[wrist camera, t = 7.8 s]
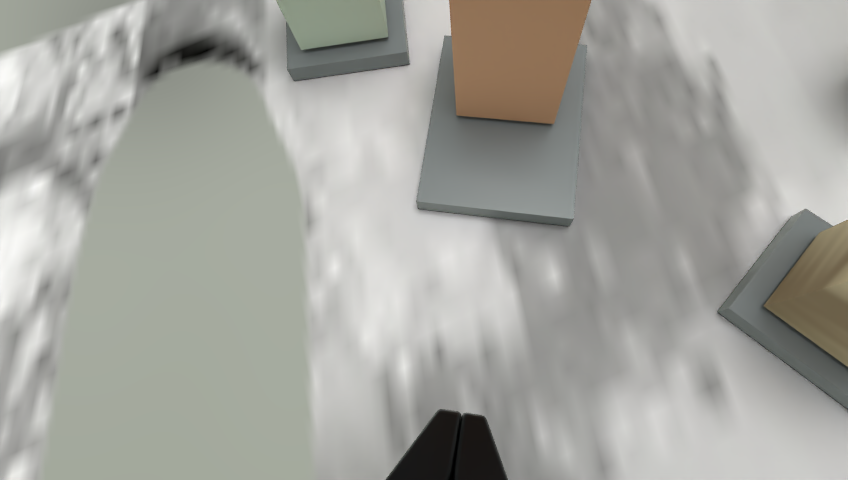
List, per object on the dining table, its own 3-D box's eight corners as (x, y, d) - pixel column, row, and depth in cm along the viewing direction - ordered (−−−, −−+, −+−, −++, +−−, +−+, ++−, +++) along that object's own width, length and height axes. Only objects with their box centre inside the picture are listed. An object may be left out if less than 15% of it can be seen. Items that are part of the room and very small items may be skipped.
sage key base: (409, 64, 26) (407, 51, 25) (294, 80, 26) (287, 69, 25) (400, -22, 28) (398, -36, 27) (292, -5, 28) (285, -19, 27)
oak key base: (858, 417, 19) (878, 418, 18) (717, 311, 21) (728, 308, 20) (932, 310, 20) (955, 305, 19) (791, 216, 22) (805, 208, 21)
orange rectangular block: (557, 127, 23) (608, -35, 14) (452, 118, 23) (440, -42, 15) (564, 47, 24) (615, -148, 15) (464, 40, 25) (460, -150, 16)
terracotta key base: (569, 226, 23) (573, 219, 22) (418, 208, 24) (416, 201, 23) (582, 58, 25) (587, 44, 24) (445, 48, 26) (444, 35, 25)
